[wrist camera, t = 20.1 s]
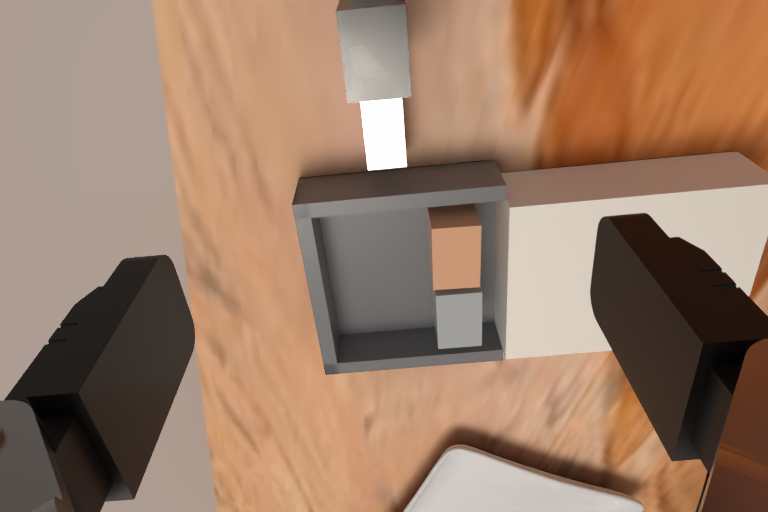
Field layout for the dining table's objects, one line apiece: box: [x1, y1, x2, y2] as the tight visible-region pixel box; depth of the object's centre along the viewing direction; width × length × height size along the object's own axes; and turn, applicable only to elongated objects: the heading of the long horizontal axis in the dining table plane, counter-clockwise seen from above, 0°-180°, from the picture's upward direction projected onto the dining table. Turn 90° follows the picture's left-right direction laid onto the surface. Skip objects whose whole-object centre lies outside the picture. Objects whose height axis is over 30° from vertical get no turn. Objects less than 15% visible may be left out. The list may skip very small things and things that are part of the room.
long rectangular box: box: [494, 151, 768, 359], centre depth 39 cm, size 12×16×5 cm
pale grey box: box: [430, 273, 482, 349], centre depth 40 cm, size 4×4×3 cm
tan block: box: [426, 203, 482, 290], centre depth 37 cm, size 4×4×3 cm
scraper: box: [336, 0, 412, 170], centre depth 29 cm, size 16×3×9 cm, turn 5°
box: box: [292, 160, 507, 375], centre depth 40 cm, size 14×13×4 cm
